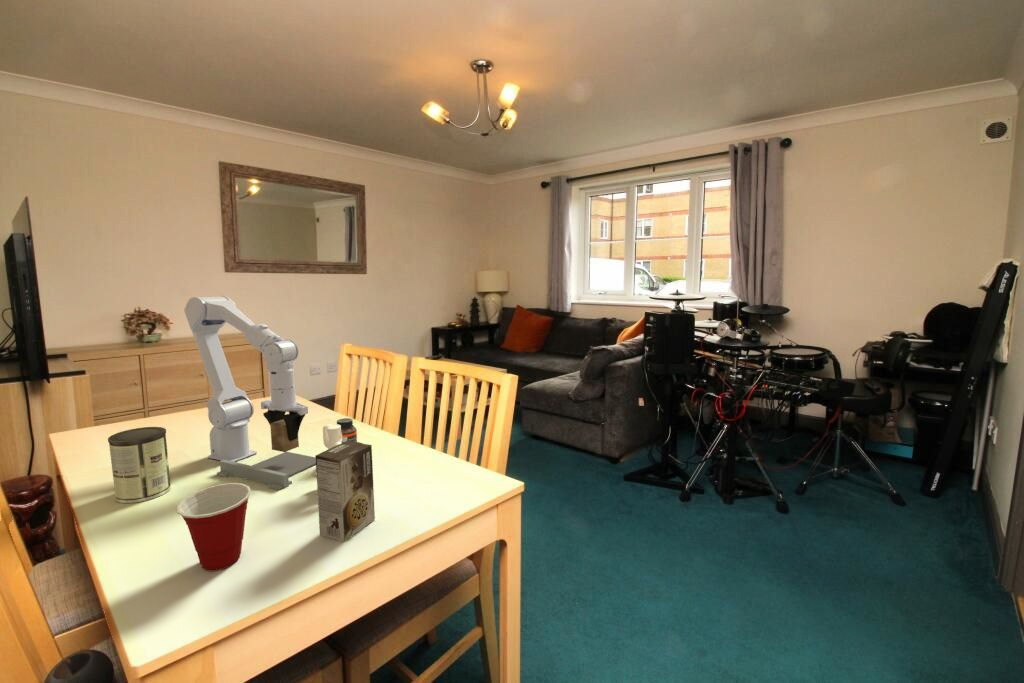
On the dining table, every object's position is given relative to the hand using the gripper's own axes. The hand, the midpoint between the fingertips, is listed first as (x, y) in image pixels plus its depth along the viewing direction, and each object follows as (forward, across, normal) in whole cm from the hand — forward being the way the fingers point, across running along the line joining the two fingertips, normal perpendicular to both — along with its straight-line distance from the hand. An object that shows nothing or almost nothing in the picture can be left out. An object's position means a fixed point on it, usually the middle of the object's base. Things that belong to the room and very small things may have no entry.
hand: (285, 438), depth 125 cm
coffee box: (+8, +37, -18) cm, 42 cm away
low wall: (+7, 0, -10) cm, 12 cm away
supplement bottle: (+8, +12, +8) cm, 17 cm away
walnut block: (+3, 0, 0) cm, 3 cm away
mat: (+7, 0, 0) cm, 7 cm away
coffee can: (+7, -16, -26) cm, 31 cm away
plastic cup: (+8, +25, -36) cm, 45 cm away
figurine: (+8, +22, -6) cm, 24 cm away
